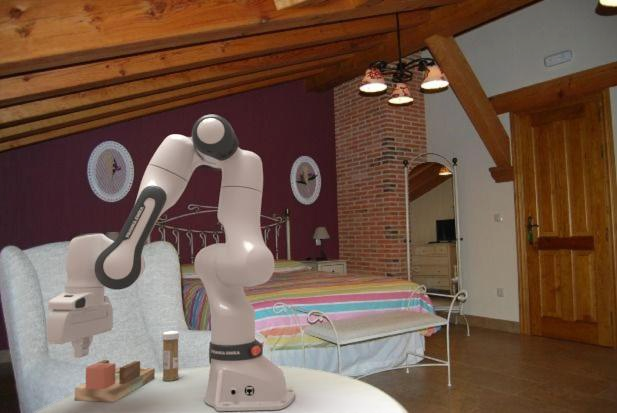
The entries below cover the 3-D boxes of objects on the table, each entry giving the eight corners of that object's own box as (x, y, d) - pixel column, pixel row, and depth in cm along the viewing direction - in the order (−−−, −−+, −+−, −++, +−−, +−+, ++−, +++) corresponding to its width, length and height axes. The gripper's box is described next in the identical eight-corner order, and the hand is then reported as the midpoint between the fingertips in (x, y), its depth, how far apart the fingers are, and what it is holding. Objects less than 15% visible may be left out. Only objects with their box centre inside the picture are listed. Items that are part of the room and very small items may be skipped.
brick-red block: (115, 383, 119) (115, 363, 120) (103, 389, 115) (103, 368, 115) (97, 382, 120) (98, 363, 121) (85, 388, 115) (86, 368, 116)
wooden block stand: (154, 378, 133) (154, 354, 134) (114, 401, 114) (114, 373, 114) (120, 377, 135) (120, 353, 136) (74, 400, 116) (75, 371, 116)
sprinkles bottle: (180, 379, 132) (180, 332, 133) (164, 382, 129) (165, 334, 131) (175, 376, 136) (176, 329, 137) (160, 378, 133) (160, 331, 134)
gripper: (99, 294, 123) (96, 347, 122) (42, 302, 103) (38, 365, 102) (120, 295, 122) (118, 348, 121) (67, 303, 102) (64, 366, 101)
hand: (81, 356), depth 111 cm, fingers closed
